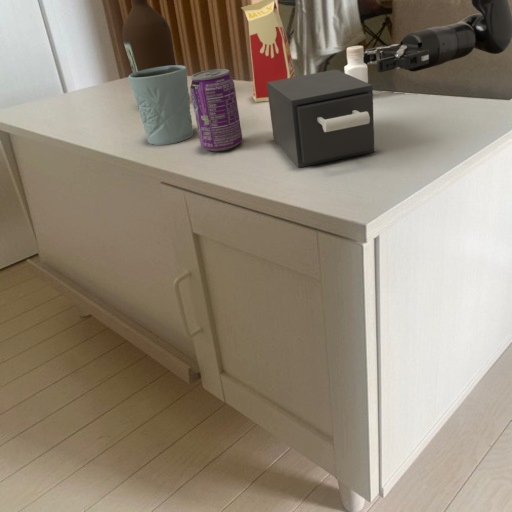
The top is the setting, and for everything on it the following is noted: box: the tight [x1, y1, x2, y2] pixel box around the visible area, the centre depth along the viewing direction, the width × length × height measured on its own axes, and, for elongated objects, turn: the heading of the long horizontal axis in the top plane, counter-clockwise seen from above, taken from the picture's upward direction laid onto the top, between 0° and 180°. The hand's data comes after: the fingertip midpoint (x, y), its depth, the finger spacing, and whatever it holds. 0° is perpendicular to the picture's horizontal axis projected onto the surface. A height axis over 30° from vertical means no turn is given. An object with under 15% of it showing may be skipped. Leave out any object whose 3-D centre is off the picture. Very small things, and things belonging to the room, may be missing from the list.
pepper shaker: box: [343, 45, 369, 84], centre depth 105 cm, size 4×4×10 cm
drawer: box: [297, 93, 375, 163], centre depth 78 cm, size 18×10×8 cm, turn 12°
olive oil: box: [121, 0, 177, 74], centre depth 120 cm, size 11×11×25 cm
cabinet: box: [267, 69, 375, 169], centre depth 82 cm, size 15×12×10 cm
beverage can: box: [189, 68, 243, 152], centre depth 88 cm, size 7×7×12 cm
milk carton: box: [240, 0, 296, 103], centre depth 113 cm, size 9×9×20 cm
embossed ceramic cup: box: [128, 64, 194, 146], centre depth 98 cm, size 10×10×12 cm
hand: (363, 64), depth 105 cm, fingers open, 8 cm apart
